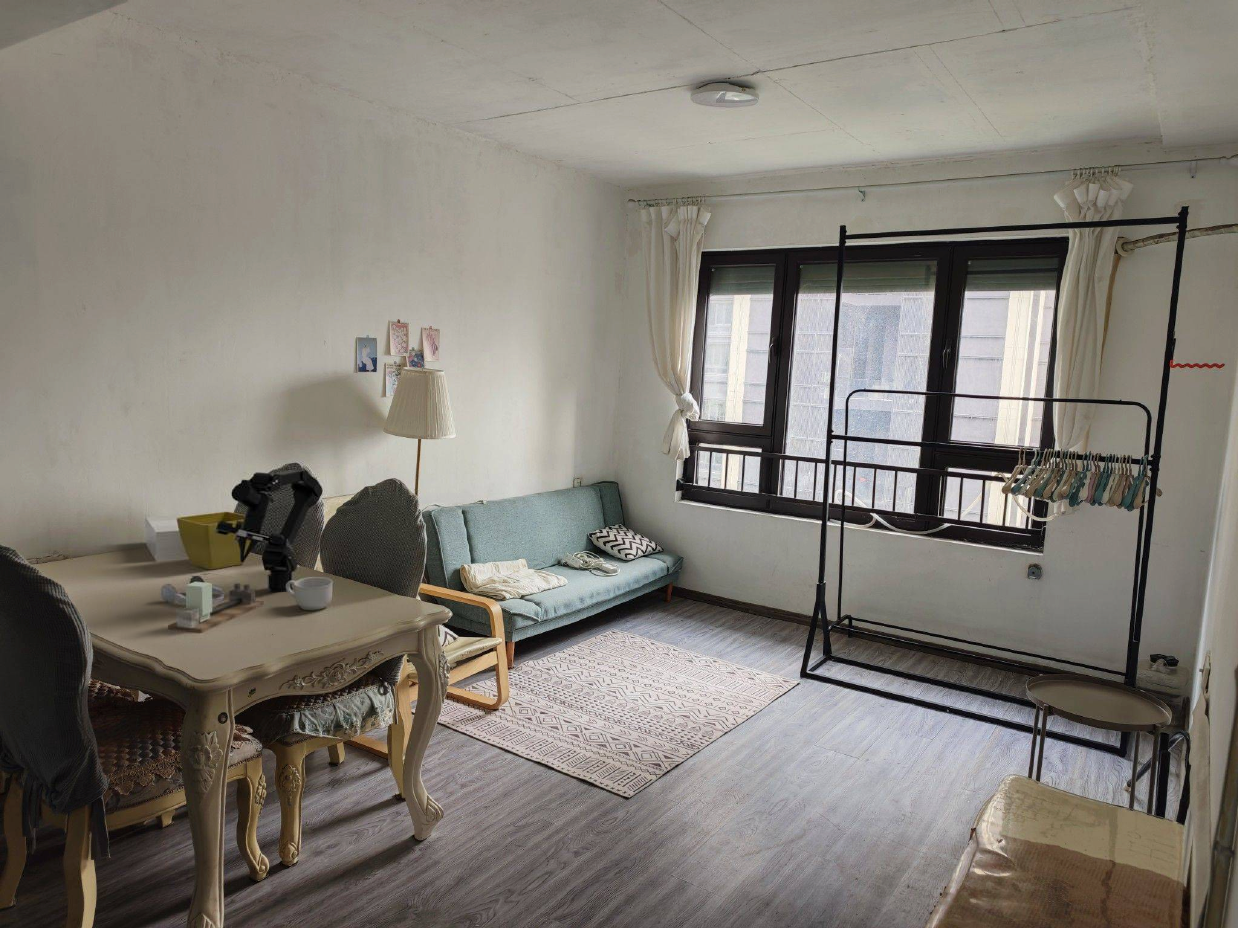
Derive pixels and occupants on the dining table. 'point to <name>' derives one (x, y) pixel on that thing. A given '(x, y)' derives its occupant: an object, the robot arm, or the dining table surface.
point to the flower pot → (210, 540)
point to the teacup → (311, 592)
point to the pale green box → (200, 598)
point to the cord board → (217, 611)
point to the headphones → (171, 594)
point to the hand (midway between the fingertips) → (241, 562)
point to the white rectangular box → (164, 538)
